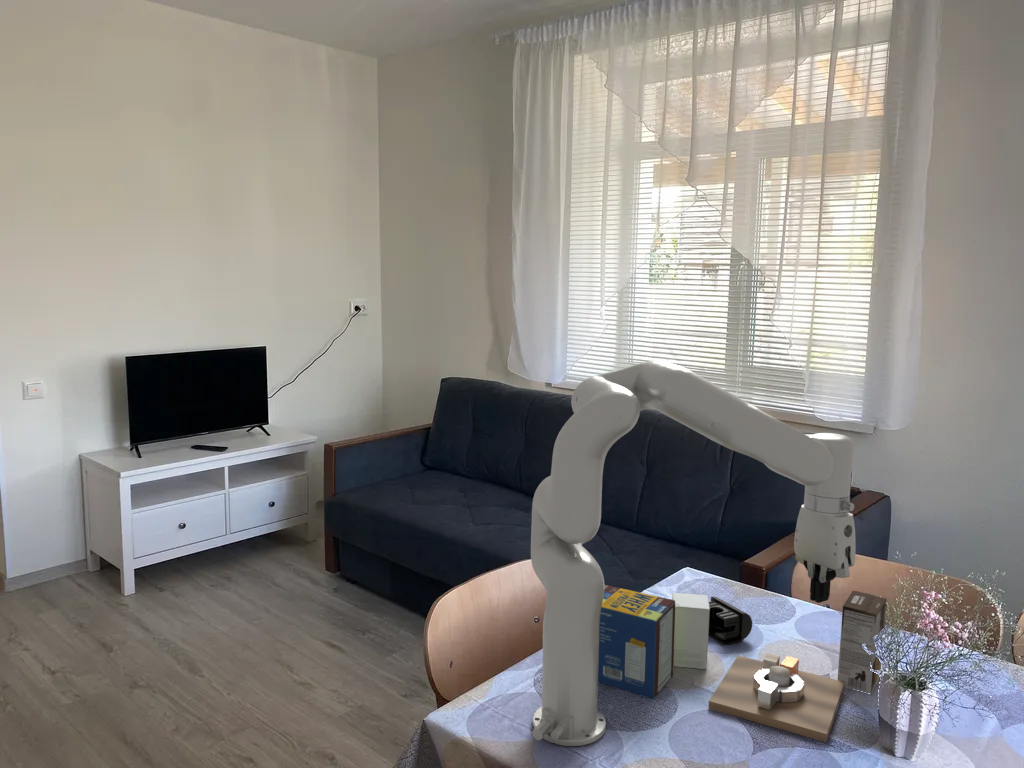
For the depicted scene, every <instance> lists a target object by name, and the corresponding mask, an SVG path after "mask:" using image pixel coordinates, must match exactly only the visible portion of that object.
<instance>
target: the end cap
mask: <svg viewBox="0 0 1024 768" xmlns="http://www.w3.org/2000/svg"><path fill="white" fill-rule="evenodd" d="M709 607H710V612H709V631H708V638H710V639H712V640H714V641H715V642H717V643H719V644H720V645H722V646H723V647H728V646H733V645H736V644H740V643H742V642H743V640H745V639H746V638H747V637H749V635H750V634H751V631H752V628H753V620H752V617H751V616H750V615H749V614H748V613H747V612H745V611H743V610H741V609H739V608H737V607H735V606H734V605H732V604H730V603H728V602H727V601H726V600H723V599H720V598H719V597H717V596H710V601H709Z"/></svg>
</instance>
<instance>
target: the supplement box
mask: <svg viewBox="0 0 1024 768" xmlns="http://www.w3.org/2000/svg"><path fill="white" fill-rule="evenodd" d="M671 600H675V630H674V662H673V667H679V668H690V669H698V670H699V669H700V670H707V667H708V652H709V649H708V648H709V636H708V631H709V612H710V607H709V602H710V601H709V595H706V594H695V593H694V594H693V593H682V592H681V593H680V592H679V593H678V592H672V594H671Z"/></svg>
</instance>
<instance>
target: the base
mask: <svg viewBox="0 0 1024 768" xmlns="http://www.w3.org/2000/svg"><path fill="white" fill-rule="evenodd" d="M780 659H781V656H780V655H777V654H773V653H769V652H766V654H765V656H764V658H763V661H762V660H758V659H754V658H749V657H747V656H746V657H745V656H742V655H737V657H736V658H735V659H734V661H733V663H732V664H731V666H730V667H729V669H728V671H727V672H725V673H726V674H725V676H724V677H723V678H722V679H721V681H720V682H719V684H718V686H717V688H716V689H715V691H714V692H713V694H712V696H710V699H709V700H708V709H709V710H712V711H715V712H719V713H722V714H726V715H730V716H733V717H736V718H739V719H743V720H748V721H750V722H753V723H754V722H755V723H757V724H761V725H764V726H767V727H771V728H774V729H775V728H776V729H778V730H782V731H785V732H788V733H791V734H796V735H798V736H801V737H807V738H809V739H813V740H817V741H819V742H823V743H827V741H828V739H829V736H830V733H831V729H832V726H833V723H834V720H835V718H836V714H837V712H838V709H839V706H840V703H841V700H842V697H843V694H844V690H845V687H844V684H845V682H843V681H839V680H838V679H834V678H830V677H826V676H823V675H818V674H815V673H811V672H807V671H803V670H799V669H798V676H799V677H800V678H801V679H802V680H803V681H804V684H805V688H804V695H803V696H802V698H801V699H800V700H799V701H798V700H797V702H785V703H782V702H781V701H779V702H776V703H775V704H774V706H773V707H772V708H771V709H770V710H767V709H764V708H761V707H758V706H757V705H758V692H757V691H756V690H755V689H754V688H753V682H754V675H755V674H756V673H757V672H758V671H759V670H761V669H769V681H770V682H774V683H777V684H778V687H780V688H781V687H789V680H790V671H789V670H788V669H787V668H785V667H782V666H780V662H781V661H780ZM839 702H840V703H839ZM838 705H839V706H838ZM837 708H838V709H837Z"/></svg>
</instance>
